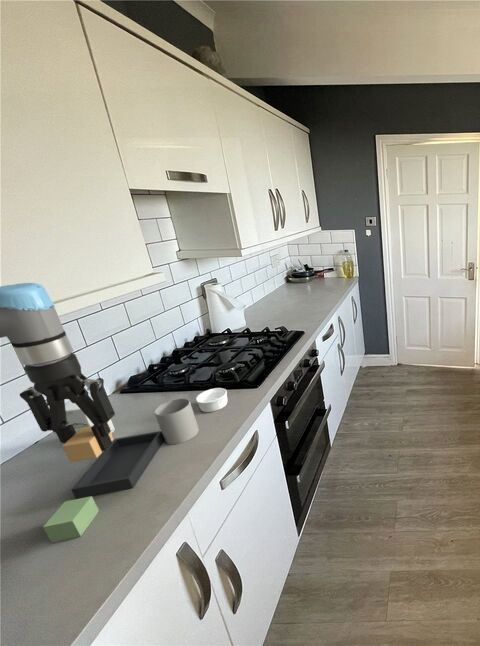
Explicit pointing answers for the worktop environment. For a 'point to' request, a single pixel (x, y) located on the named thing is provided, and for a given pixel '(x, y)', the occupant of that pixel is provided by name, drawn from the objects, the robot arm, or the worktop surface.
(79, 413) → the white packaging box
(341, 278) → the worktop surface
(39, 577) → the worktop surface
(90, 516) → the pad
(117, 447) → the tray
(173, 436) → the cup
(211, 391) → the ramekin
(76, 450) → the light orange rectangular block
